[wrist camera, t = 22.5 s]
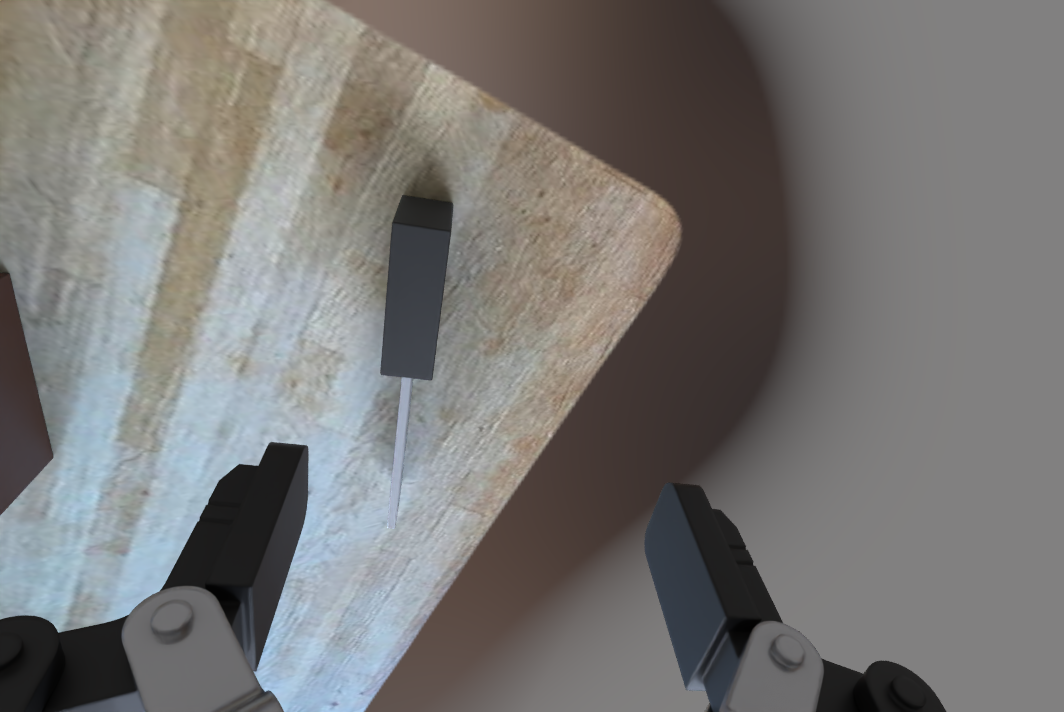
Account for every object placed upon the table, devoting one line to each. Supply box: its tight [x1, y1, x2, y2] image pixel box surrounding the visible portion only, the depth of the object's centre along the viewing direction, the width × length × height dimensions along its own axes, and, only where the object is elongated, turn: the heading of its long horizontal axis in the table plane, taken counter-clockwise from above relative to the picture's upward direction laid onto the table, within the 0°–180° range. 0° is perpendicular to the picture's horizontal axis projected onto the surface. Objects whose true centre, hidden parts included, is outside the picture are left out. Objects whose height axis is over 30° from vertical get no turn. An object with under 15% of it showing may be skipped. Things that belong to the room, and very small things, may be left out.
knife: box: [380, 195, 453, 528], centre depth 33 cm, size 19×3×4 cm, turn 169°
